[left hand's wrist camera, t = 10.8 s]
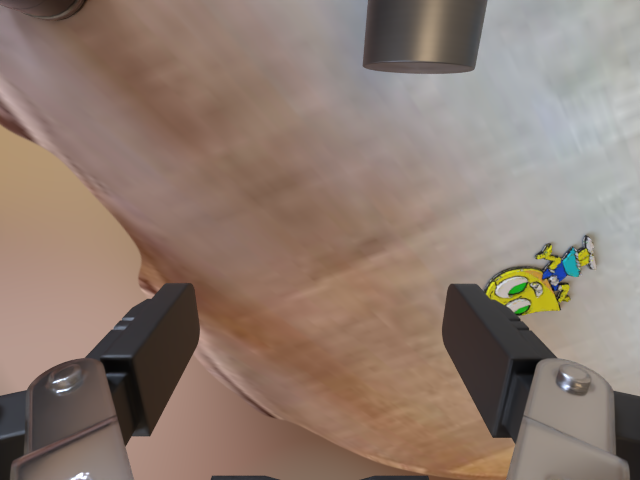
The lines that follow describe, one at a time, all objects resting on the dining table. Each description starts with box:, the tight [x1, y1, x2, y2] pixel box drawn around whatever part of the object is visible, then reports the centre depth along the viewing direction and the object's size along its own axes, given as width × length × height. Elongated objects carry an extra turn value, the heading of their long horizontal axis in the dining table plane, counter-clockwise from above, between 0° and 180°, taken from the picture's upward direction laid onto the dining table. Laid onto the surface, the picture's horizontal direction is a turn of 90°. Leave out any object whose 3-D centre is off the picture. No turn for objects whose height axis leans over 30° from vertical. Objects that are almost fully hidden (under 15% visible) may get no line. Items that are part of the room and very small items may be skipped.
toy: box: [484, 235, 596, 317], centre depth 44 cm, size 10×1×15 cm
